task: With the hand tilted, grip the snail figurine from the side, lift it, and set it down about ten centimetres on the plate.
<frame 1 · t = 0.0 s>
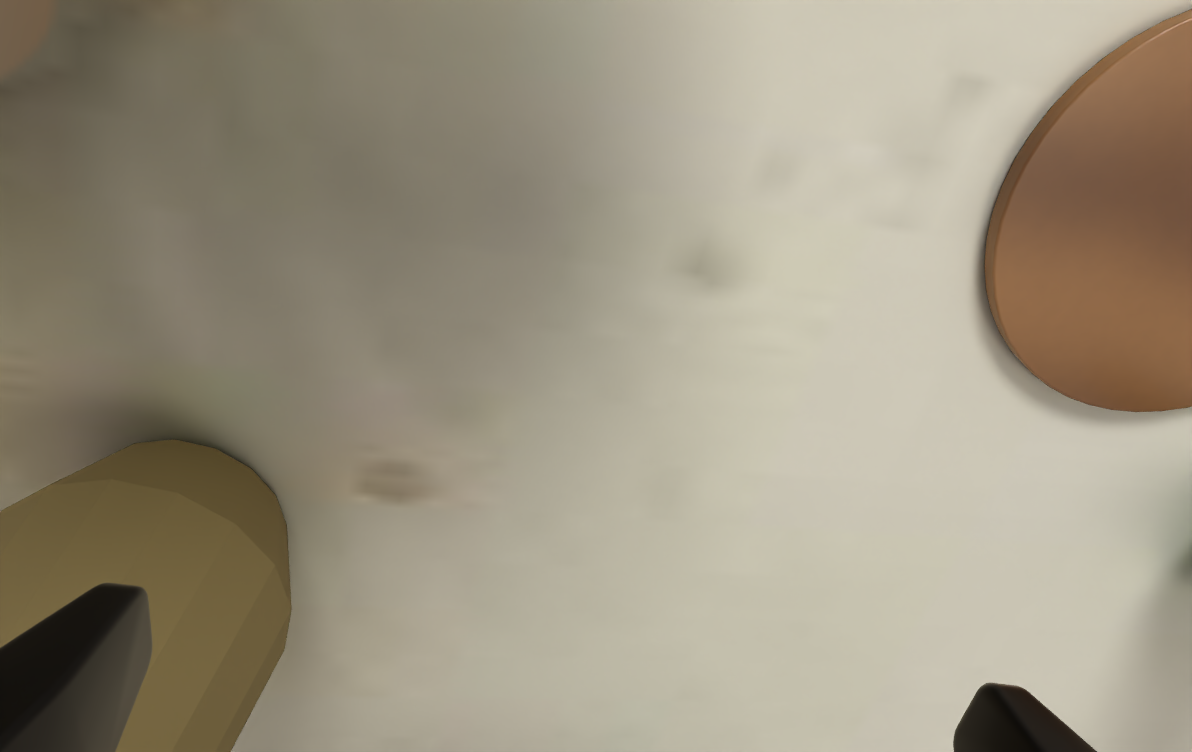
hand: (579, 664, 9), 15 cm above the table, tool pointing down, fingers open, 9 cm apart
squeeze bottle: (193, 511, 27), on the table
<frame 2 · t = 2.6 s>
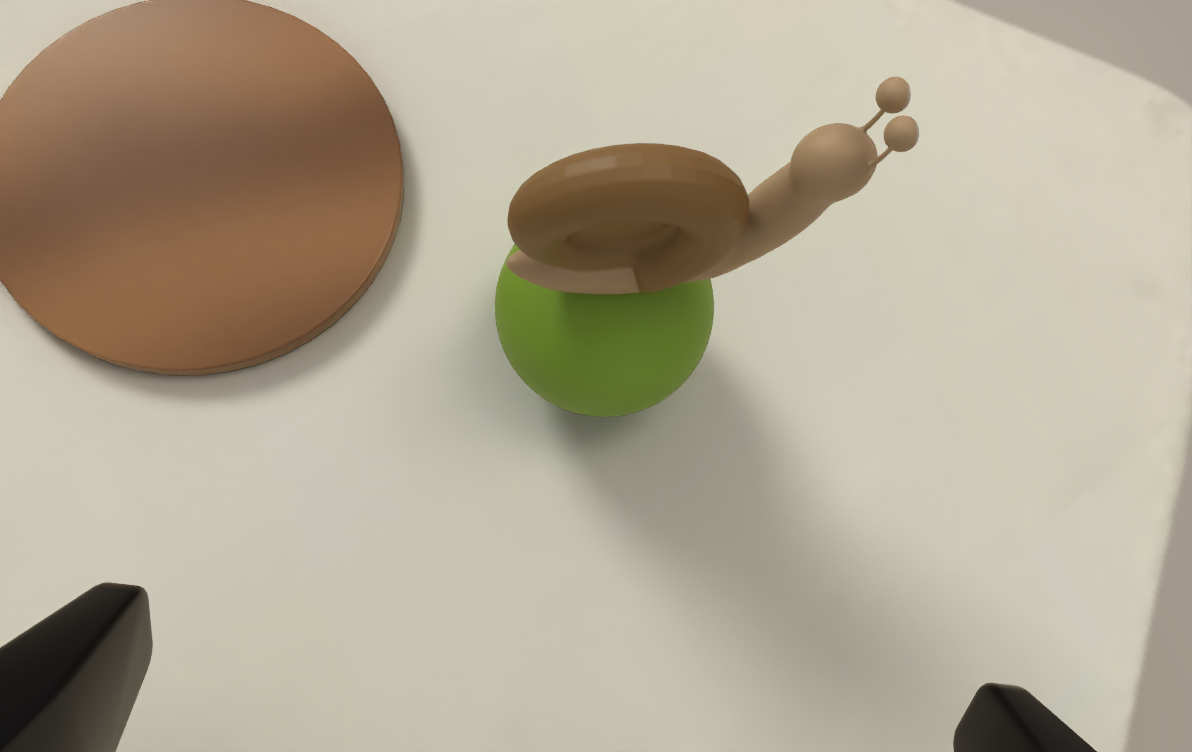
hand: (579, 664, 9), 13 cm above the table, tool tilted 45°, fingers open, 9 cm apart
snail figurine: (608, 337, 24), on the table
plate: (201, 182, 24), on the table
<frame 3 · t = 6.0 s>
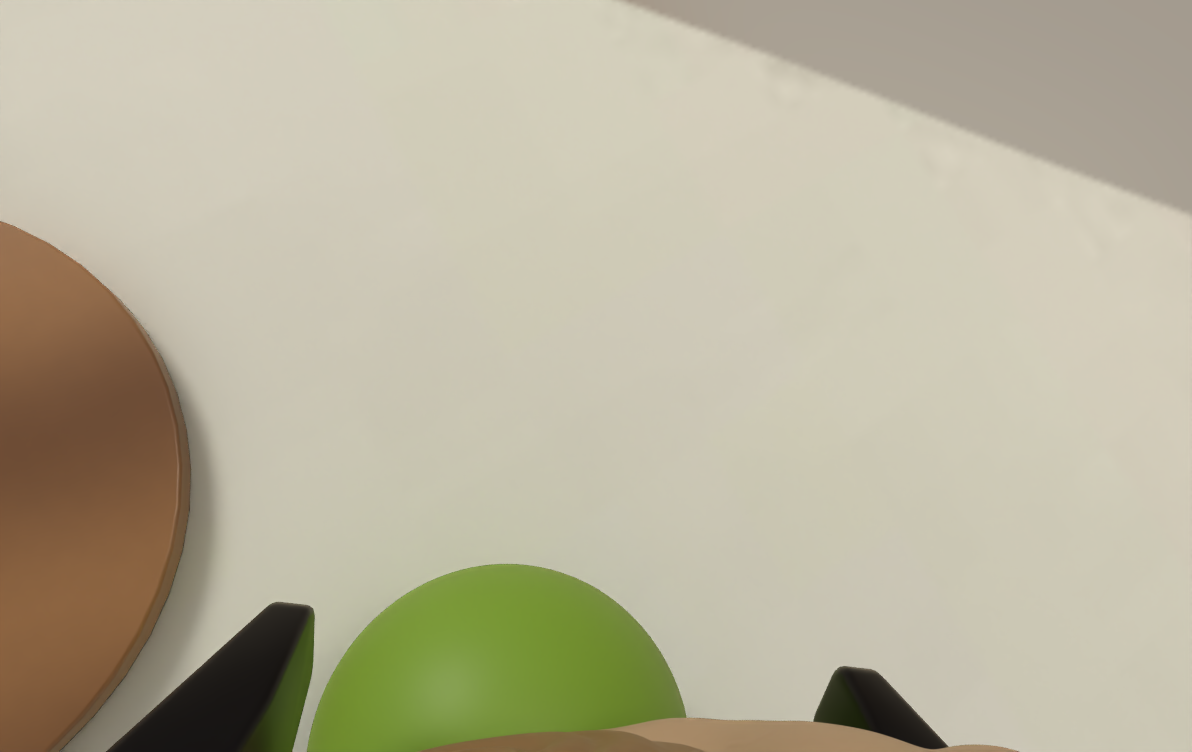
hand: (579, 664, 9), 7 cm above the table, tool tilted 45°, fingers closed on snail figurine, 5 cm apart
snail figurine: (523, 725, 15), on the table, touching gripper
when the fingers open (7 cm above the table, at t = 11.9 s): snail figurine stays where it is, resting on plate.
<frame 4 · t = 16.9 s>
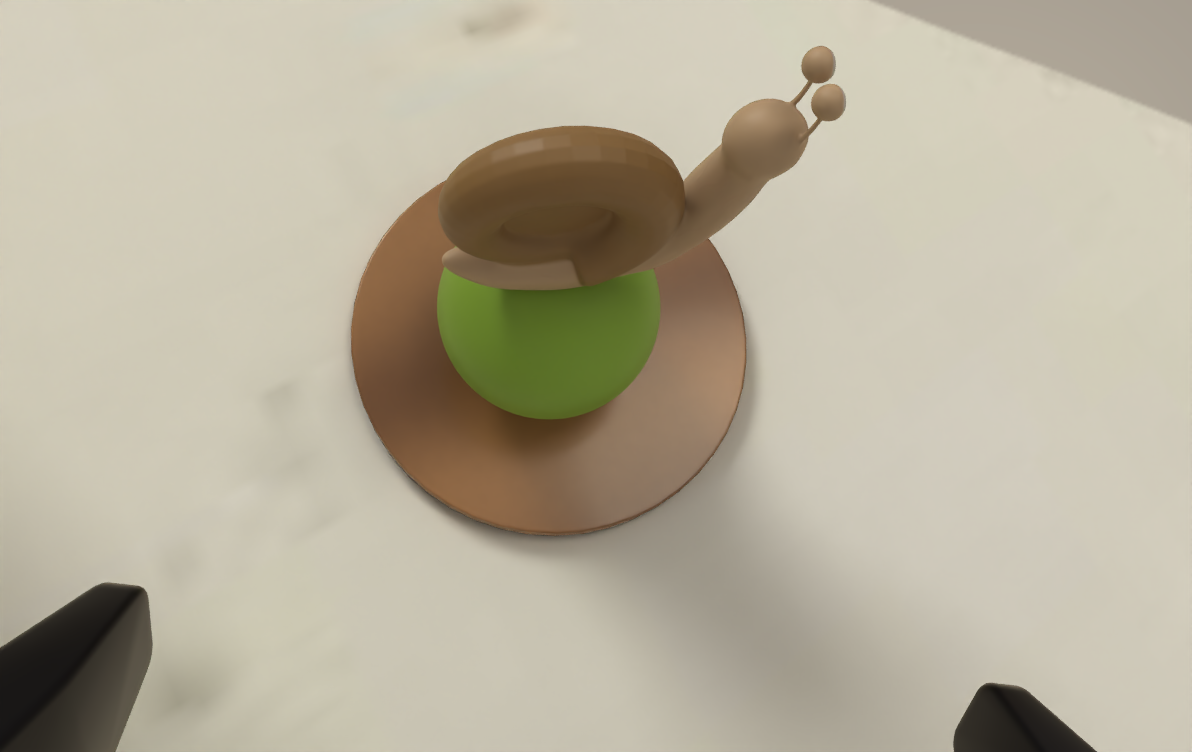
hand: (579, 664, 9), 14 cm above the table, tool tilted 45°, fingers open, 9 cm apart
snail figurine: (557, 342, 24), resting on plate
plate: (553, 339, 24), on the table
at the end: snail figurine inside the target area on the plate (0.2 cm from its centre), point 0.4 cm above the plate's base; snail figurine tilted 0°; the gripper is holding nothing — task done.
